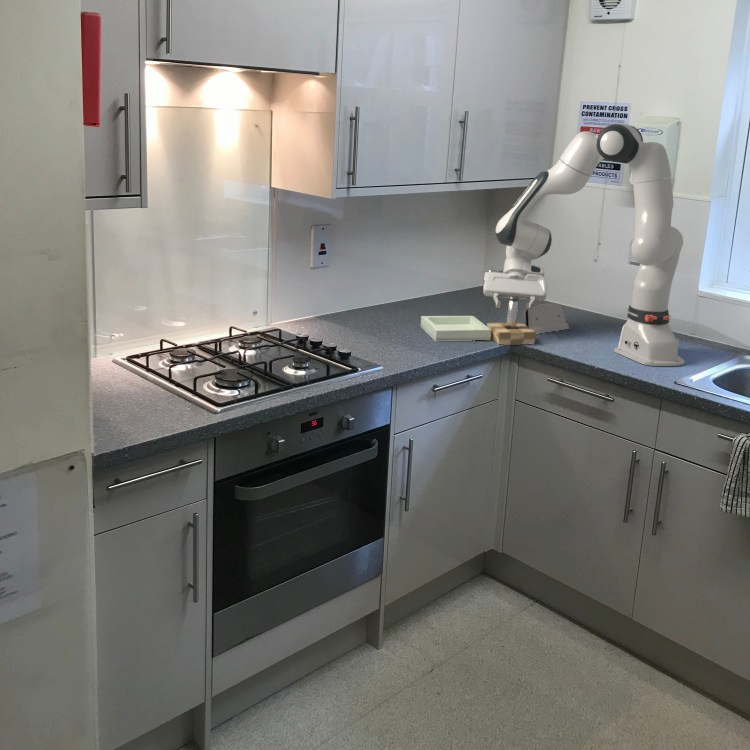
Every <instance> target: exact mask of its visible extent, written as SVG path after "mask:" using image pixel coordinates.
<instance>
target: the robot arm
mask: <svg viewBox="0 0 750 750" xmlns="http://www.w3.org/2000/svg"><path fill="white" fill-rule="evenodd" d="M666 149H667V148H666V147H665V146H664V145H663V144H661V143H660V142H654V141H648V142H644V138H643V135H642V133H641V132H640V130H639V129H637V128H636V127H635V126H633V125H629V124H627V123H615V124H609V125H607V126H605V127H604V128H603V129H602V130H601V131H600V132H599V133H598V134H596V133H594V132H591V131H589V130H588V131H586V130H585V131H580V132H579V133H577V134H576V135H575V136H574V137H573V138H572V139H571V141H570V142H569V144H568V145H567V146H566V147H565V149H564V151H563V152H562V153H561V155H560V157H559V159H558V161H557V162H556V163H555V164H554V165H553V166H552V167H550V168H549V169H547V170H545V171H544V170H543V171H541V172H539V173H538V174H537V175H536V176H535V177H534V179H533V180H532V181H531V182H530V183H529V185H528V186H527V187H526V188H525V189H524V190H523V192H522V193H521V194H520V195H519V197H518V198H517V200H516V201H515V202H514V203H513V204H512V206H511V207H510V208H509V209H508V210H507V211H506V212H505V214H503V215H502V216H501V218H499V220H498V222H497V224H496V226H495V229H494V233H495V237H496V239H497V241H498V243H500V244H501V245H505V246H506V247H505V260H504V262H503V264H504V265H503V270H496V269H489V270H487V271H486V272H484V273H483V275H484V276H483V280H484V283H483V289H482V291H483V292H482V294H484V296H485V297H492V298H493V300H494V301H493V302H494V303H495V308H496V309H498V308H499V309H500V308H501V304H502V301H501V300H499V298H504V299H509V296H518V297H519V300H525V301H527V300H528V301H529V302H526V303H525V310H527V311H530V307H532V306H534V305H533V304H535V301H537V302H539V301H540V302H543V301H545V300H546V299H547V280H546V278H545V269H544V268H542V267H540V266H537V265H535V264H533V263H532V261H534V260H537V259H539V258H541V257H542V256H544V255H546V254H547V253H548V252H549V251H550V249H551V247H552V242H553V241H552V240H553V239H552V232H551V231H550V229H549V228H547V227H545V226H543V225H541V224H538V223H536V222H533V221H531V220H528V219H526V218H524V217H525V216H526V214H527V213H528V211H530V209H531V208H532V207H533V206H534V204H535V203H536V202H537V201H538V199H540V198H542V197H544V196H548V195H549V196H550V195H562V196H563V195H564V196H566V195H572V194H575V193H578V192H580V191H581V190H582V189H583V188H584V187H585V186H586V185H587V183H588V181H589V180H590V178H591V176H592V175H593V173H594V171H595V170H596V168H597V167H598V165H599V164H600V163H601V162H602V161H603V160H606V161H608V162H613V163H620V164H624V165H625V164H626V165H628V166H629V168H630V170H631V171H630V172H631V177H632V189H633V198H634V199H633V200H634V221H633V222H634V223H633V237H632V244H631V247H630V251H631V255H632V257H633V260H635V262H636V263H638V264H639V266H638V269H637V272H636V276H635V277H634V280H633V284H632V285H633V286H632V290H631V291H632V292H631V298H630V304H629V305H628V308H627V321H626V322H625V323H624V324H623V326H622V329H621V332H620V336H619V342H618V345H617V347H615V348H614V349H613V350H614V353H616V354H619V355H621V356H623V357H625V358H627V359H630V360H632V361H634V362H636V363H640V364H642V365H645V366H651V367H653V366H654V367H676V366H683V365H685V364H686V363H685V362H686V361H685V360H684V359H683V358H682V357H681V356H680V355H678V354H679V344H680V339H679V338H677V337H676V336H675V334H674V332H673V330H672V328H671V326H670V324H669V323H670V320H671V315H670V314H669V311H670V310H669V309H668V308H669V303H670V295H671V288H672V283H673V280H674V276H675V274H676V270H677V266H678V263H679V258H680V254H681V251H682V248H683V245H684V237H683V235H682V234H683V233H681V231H680V230H679V229H677V228H676V227H674V226H672V215H673V208H674V204H675V203H674V195H673V183H672V181H673V180H672V172H671V166H670V162H669V161H670V160H669V158H668V157H669V156H668V153H667V150H666ZM525 310H524V311H525Z"/></svg>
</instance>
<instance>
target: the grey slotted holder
mask: <svg viewBox="0 0 750 750" xmlns="http://www.w3.org/2000/svg"><path fill="white" fill-rule="evenodd" d="M523 324H525V325H526V326H528V327H529V328H530V329H532V330H533V331H535V332H536V333H542V332H549V331H556V332H558V331H557V330H563V331H565V330H564V329H569V330H570V328H569V323H567V321H566V317H565V315H564V309H563V307H562V305H560V304H556V303H551V302H542V303H537V304H534V305H532V306H531V307H530V311H527V310H524V311H523Z"/></svg>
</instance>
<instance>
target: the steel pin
mask: <svg viewBox="0 0 750 750" xmlns="http://www.w3.org/2000/svg"><path fill="white" fill-rule="evenodd" d="M519 300H520V299H519V297H518V296H509V298H508V305H507V306H508V307H507V308H508V309H507V317H506V323H507V325H506V329H516V323H517V321H518V320H517V318H518V310H519V309H518V308H519Z"/></svg>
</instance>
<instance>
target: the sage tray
mask: <svg viewBox="0 0 750 750" xmlns="http://www.w3.org/2000/svg"><path fill="white" fill-rule="evenodd" d="M420 328H421V329H422V330H424V332H426V334H427V335H429V336H430V337H431V339H433V340H434V342H476V341H475V340H490V341H491V338H490V337H491V330H490V329H489V328H488V327H487V325H485V324H484V323H483V322H482V321H480V320H479V319H478V318H477V317H475V316H474V315H428V316H427V315H421V316H420ZM472 340H473V341H472Z"/></svg>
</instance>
